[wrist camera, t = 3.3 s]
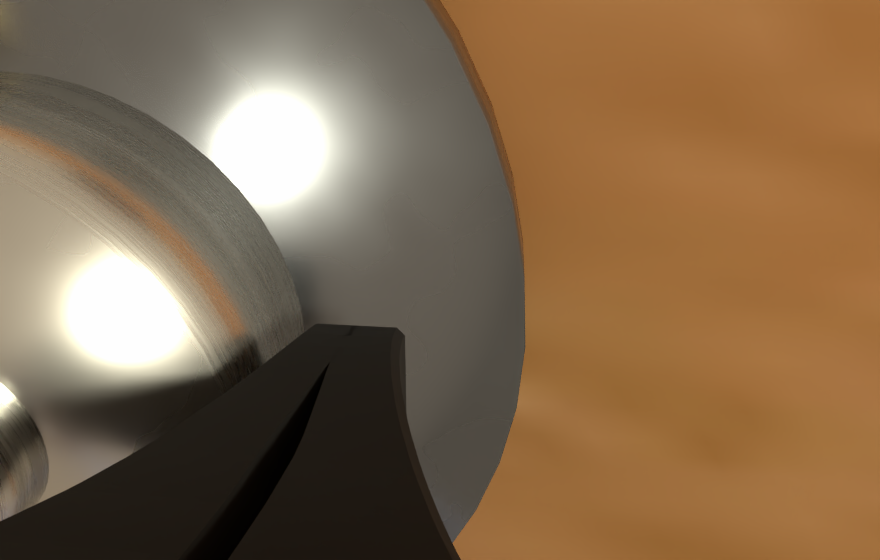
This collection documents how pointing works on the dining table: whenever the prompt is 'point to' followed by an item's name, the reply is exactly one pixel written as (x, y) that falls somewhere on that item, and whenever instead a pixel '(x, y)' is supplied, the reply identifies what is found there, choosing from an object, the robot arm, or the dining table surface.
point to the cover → (118, 285)
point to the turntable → (340, 178)
